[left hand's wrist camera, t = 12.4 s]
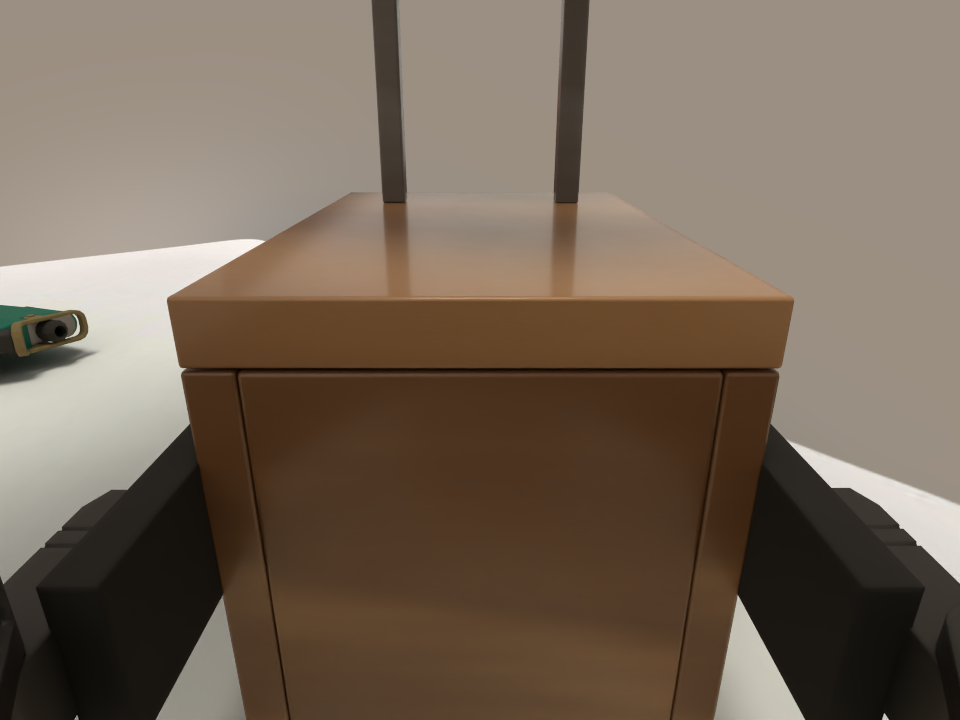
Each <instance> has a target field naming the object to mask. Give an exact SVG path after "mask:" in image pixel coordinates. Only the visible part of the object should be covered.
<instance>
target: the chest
mask: <svg viewBox="0 0 960 720" xmlns="http://www.w3.org/2000/svg"><path fill="white" fill-rule="evenodd" d="M181 378H182V383H183V388H184V394H185V399H186V404H187V410H188V415H189V420H190V425H191V431H192V436H193V441H194V446H195V452H196V457H197V462H198V466H199V471H200V476H201V481H202V487H203V492H204V497H205V502H206V508H207V513H208V518H209V523H210V529H211V534H212V539H213V544H214V550H215V555H216V560H217V566H218V571H219V576H220V581H221V587H222V592H223V599H224V604H225V610H226V615H227V620H228V625H229V631H230V636H231V641H232V646H233V652H234V657H235V662H236V667H237V673H238V678H239V683H240V688H241V694H242V699H243V704H244V710H245V715H246V720H714V716H715V711H716V706H717V701H718V695H719V690H720V685H721V680H722V674H723V669H724V664H725V659H726V653H727V648H728V643H729V638H730V632H731V627H732V622H733V617H734V612H735V606H736V601H737V596H738V590H739V585H740V579H741V574H742V569H743V564H744V558H745V553H746V548H747V543H748V537H749V532H750V527H751V522H752V516H753V511H754V506H755V501H756V495H757V490H758V485H759V480H760V474H761V469H762V464H763V460H764V454H765V449H766V444H767V439H768V434H769V428H770V423H771V418H772V412H773V407H774V402H775V397H776V392H777V386H778V381H779V373H778V372H777V371H776V370H775V369H774V368H186V369H185V370H184V371H183V372H182V374H181Z"/></svg>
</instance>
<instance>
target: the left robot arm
mask: <svg viewBox="0 0 960 720" xmlns="http://www.w3.org/2000/svg"><path fill="white" fill-rule="evenodd" d="M222 595H223V592H222V587H221V581H220V576H219V571H218V566H217V560H216V555H215V550H214V544H213V539H212V534H211V529H210V523H209V518H208V513H207V508H206V502H205V497H204V492H203V487H202V481H201V476H200V471H199V466H198V462H197V457H196V452H195V446H194V441H193V436H192V431H191V425H190V424H189V426H188V427H187V428H186V429H185V430H184V431H183V432H182V433H181V434H180V435H179V436H178V437H177V438H176V439H175V440H174V441H173V442H172V444H171V445H170V446H169V447H168V448H167V449H166V450H165V451H164V452H163V453H162V454H161V455H160V456H159V457H158V458H157V459H156V460H155V462H154V463H153V464H152V465H151V466H150V467H149V468H148V469H147V470H146V471H145V472H144V473H143V474H142V475H141V476H140V477H139V478H138V479H137V481H136V482H135V483H134V484H133V485H132V486H131V487H130V488H129V489H128V490H111V491H109V492H107V493H105V494H104V495H102V496H100V497H99V498H97V499H95V500H94V501H92V502H90V503H88V504H87V505H85V506H83V507H82V508H81V509H80V510H79V511H78V512H77V513H76V514H75V515H74V516H73V517H72V518H71V519H70V520H69V521H68V522H67V523H66V524H65V525H64V526H63V527H62V531H58V532H57V533H55V534H54V535H53V536H52V537H51V538H50V539H49V540H48V541H47V542H46V543H45V548H40V549H39V550H38V551H37V552H36V553H35V554H34V555H33V556H32V557H31V558H30V559H29V560H28V561H27V562H26V563H25V564H24V565H23V566H22V567H21V568H20V569H19V570H18V571H17V572H16V573H15V574H14V575H13V576H12V577H11V578H10V579H9V580H8V581H7V582H6V583H4V584H3V583H2V580H1V577H0V720H74V719H75V717H76V716H77V715H78V718H79V720H156V718H157V716H158V714H159V712H160V710H161V708H162V707H163V705H164V703H165V701H166V699H167V697H168V695H169V694H170V692H171V690H172V688H173V686H174V684H175V682H176V681H177V679H178V677H179V675H180V673H181V671H182V669H183V668H184V666H185V664H186V662H187V660H188V658H189V656H190V655H191V653H192V651H193V649H194V647H195V645H196V643H197V642H198V640H199V638H200V636H201V634H202V632H203V630H204V629H205V627H206V625H207V623H208V621H209V619H210V617H211V616H212V614H213V612H214V610H215V608H216V606H217V604H218V603H219V601H220V599H221V597H222ZM738 596H739V598H740V599H741V601H742V603H743V605H744V607H745V609H746V611H747V612H748V614H749V616H750V618H751V620H752V622H753V624H754V625H755V627H756V629H757V631H758V633H759V635H760V637H761V638H762V640H763V642H764V644H765V646H766V648H767V650H768V651H769V653H770V655H771V657H772V659H773V661H774V663H775V664H776V666H777V668H778V670H779V672H780V674H781V676H782V677H783V679H784V681H785V683H786V685H787V687H788V689H789V690H790V692H791V694H792V696H793V698H794V700H795V702H796V703H797V705H798V707H799V709H800V711H801V713H802V715H803V716H804V718H805V720H882V718H883V715H884V713H885V714H886V716H887V717H888V719H889V720H960V584H959V583H958V582H957V581H956V580H955V579H954V578H953V577H952V576H951V575H950V574H949V573H948V572H947V571H946V570H945V569H944V568H943V567H942V566H941V565H940V564H939V563H938V562H937V561H936V560H935V559H934V558H933V557H932V556H931V555H930V554H929V553H928V552H927V551H926V550H925V549H924V548H922V547H921V546H917V544H916V541H915V540H914V539H913V538H912V537H911V536H910V535H909V534H908V533H907V532H906V531H905V530H904V529H900V528H899V524H898V523H897V522H896V521H895V520H894V519H893V518H892V517H891V516H890V515H889V514H888V513H887V512H886V511H884V510H883V509H882V508H881V507H880V506H879V505H878V504H876V503H875V502H873V501H871V500H869V499H868V498H866V497H864V496H863V495H861V494H859V493H857V492H856V491H854V490H852V489H851V488H831V487H830V486H829V485H828V484H827V483H826V482H825V481H824V480H823V479H822V478H821V477H820V476H819V474H818V473H817V472H816V471H815V470H814V469H813V468H812V467H811V466H810V465H809V464H808V463H807V462H806V461H805V460H804V459H803V458H802V457H801V455H800V454H799V453H798V452H797V451H796V450H795V449H794V448H793V447H792V446H791V445H790V444H789V443H788V442H787V441H786V440H785V439H784V437H783V436H782V435H781V434H780V433H779V432H778V431H777V430H776V429H775V428H774V427H773V426H772V425H771V424H770V428H769V434H768V439H767V444H766V449H765V454H764V460H763V464H762V469H761V474H760V480H759V485H758V490H757V495H756V501H755V506H754V511H753V516H752V522H751V527H750V532H749V537H748V543H747V548H746V553H745V558H744V564H743V569H742V574H741V579H740V585H739V590H738Z"/></svg>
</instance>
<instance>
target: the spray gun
mask: <svg viewBox="0 0 960 720" xmlns="http://www.w3.org/2000/svg"><path fill="white" fill-rule="evenodd" d="M72 314H75V315H76V316H77V318H78V320H79V325H80V332H79V334H78V335H77V336H75V337H71V338H67V339H65V338H66V337H69V336H71V335H73V334H74V332H75V331H76V328H77V321H76V318H75V317H74V316H73V315H72ZM87 333H88V324H87V320H86V317H85V315H84V314H83V313H82V312H80V311H77V310H67V311H56V310H48V309H41V308H34V307H16V306H5V305H0V354H4V353H14V352H15V351H16V353H17V355H18V356H19V357H21V356H28V355H29V354H31V353H34V352H38V351H42V350H45V349H49V348H53V347H56V346H60V345H64V344H68V343H71V342H75V341H79V340H81V339H83V338H85V337H86V335H87ZM49 341H51V342H52V343H51V342H49Z"/></svg>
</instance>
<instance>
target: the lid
mask: <svg viewBox="0 0 960 720" xmlns="http://www.w3.org/2000/svg"><path fill="white" fill-rule="evenodd" d="M372 16H373V34H374V52H375V70H376V88H377V106H378V125H379V142H380V160H381V179H382V193H350V194H348V195H346V196H344V197H343V198H341V199H339V200H337V201H336V202H334V203H332V204H331V205H329V206H327V207H325V208H324V209H322V210H320V211H318V212H316V213H315V214H313V215H311V216H309V217H308V218H306V219H304V220H303V221H301V222H299V223H297V224H296V225H294V226H292V227H290V228H289V229H287V230H285V231H283V232H282V233H280V234H278V235H276V236H275V237H273V238H271V239H269V240H268V241H266V242H264V243H262V244H261V245H259V246H257V247H255V248H254V249H252V250H250V251H248V252H247V253H245V254H243V255H241V256H240V257H238V258H236V259H234V260H233V261H231V262H229V263H227V264H226V265H224V266H222V267H220V268H219V269H217V270H215V271H213V272H212V273H210V274H208V275H206V276H205V277H203V278H201V279H199V280H198V281H196V282H194V283H192V284H191V285H189V286H187V287H185V288H184V289H182V290H180V291H178V292H177V293H175V294H173V295H171V296H170V297H168V299H167V304H168V309H169V315H170V320H171V325H172V330H173V336H174V341H175V346H176V351H177V357H178V362H179V366H180V367H181V368H780V367H781V366H782V362H783V357H784V351H785V346H786V341H787V336H788V330H789V325H790V320H791V315H792V310H793V304H794V299H793V297H791V296H789V295H787V294H786V293H784V292H782V291H780V290H779V289H777V288H775V287H773V286H772V285H770V284H768V283H766V282H765V281H763V280H761V279H759V278H758V277H756V276H754V275H752V274H751V273H749V272H747V271H745V270H744V269H742V268H740V267H738V266H737V265H735V264H733V263H731V262H730V261H728V260H726V259H724V258H723V257H721V256H719V255H718V254H716V253H714V252H712V251H711V250H709V249H707V248H705V247H703V246H702V245H700V244H698V243H696V242H695V241H693V240H691V239H690V238H688V237H686V236H684V235H682V234H681V233H679V232H677V231H676V230H674V229H672V228H670V227H669V226H667V225H665V224H663V223H662V222H660V221H658V220H656V219H655V218H653V217H651V216H649V215H648V214H646V213H644V212H642V211H641V210H639V209H637V208H635V207H634V206H632V205H630V204H628V203H627V202H625V201H623V200H621V199H620V198H618V197H616V196H614V195H613V194H611V193H579V176H580V158H581V141H582V123H583V105H584V87H585V69H586V52H587V34H588V16H589V0H562V12H561V36H560V60H559V83H558V106H557V130H556V154H555V177H554V193H407V186H406V162H405V138H404V114H403V89H402V66H401V42H400V18H399V0H372Z"/></svg>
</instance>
